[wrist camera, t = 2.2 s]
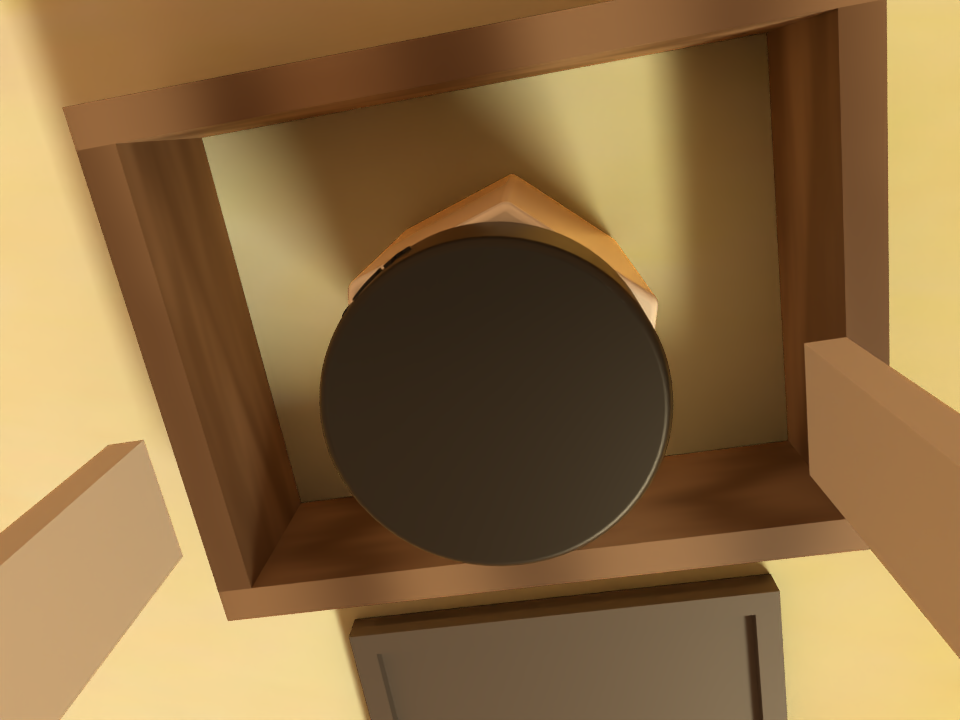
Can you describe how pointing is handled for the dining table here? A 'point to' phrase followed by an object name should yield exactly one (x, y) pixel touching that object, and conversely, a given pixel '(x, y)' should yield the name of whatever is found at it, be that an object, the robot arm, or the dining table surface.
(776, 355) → the dining table surface
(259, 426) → the crate
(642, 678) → the tray
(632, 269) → the jar
